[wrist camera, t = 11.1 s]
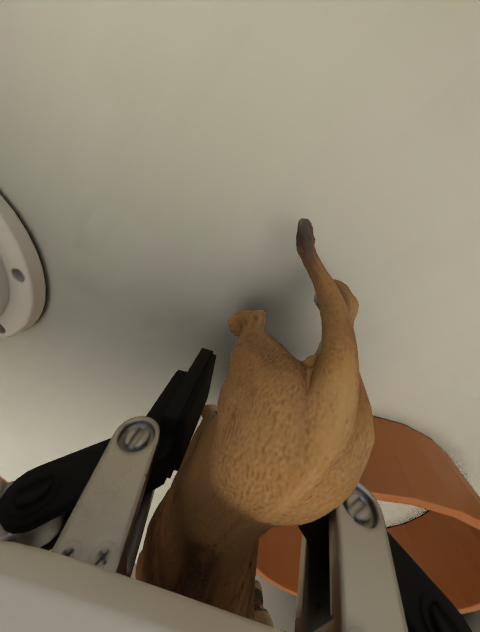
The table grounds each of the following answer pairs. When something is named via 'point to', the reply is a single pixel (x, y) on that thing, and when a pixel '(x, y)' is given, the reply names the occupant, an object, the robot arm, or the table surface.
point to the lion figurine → (264, 453)
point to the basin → (415, 536)
